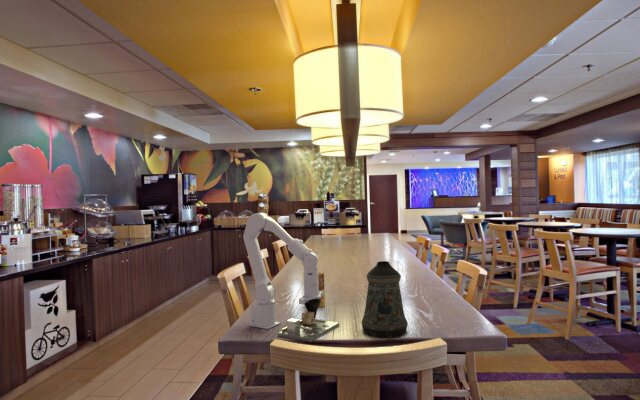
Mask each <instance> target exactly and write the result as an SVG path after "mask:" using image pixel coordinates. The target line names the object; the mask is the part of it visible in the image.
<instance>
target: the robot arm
mask: <svg viewBox="0 0 640 400" xmlns="http://www.w3.org/2000/svg"><path fill="white" fill-rule="evenodd" d="M262 230H263V231H266V232H272V233H273V234H274V235H275V236H277V237H278V238H279V239H280V240H281V241H282V242H284V243H285V244H286V245H287V250H288V251H289V252H290V253H291V254H292V255H293V256H294V257H295V258H297V260H299V261H301V264H302V266H303V295H302V296H301V297H300V298H298V305H303V306H304V307H305V309H306V311H309V312H314V319H317V313H318V309H319V307H318V306H319V304H320V302H321V300H320V299H317V298H321V297H322V296H324V291H319V281H318V272H319V267H318V263H319V256H318V254H317V253H316V252H315V251H313V249H312V248H308V246H306V244H304V241H303V240H302V239H299V238H293V237H292V236H291V235H290V234H289V233H288V232H287V231H286V230H285V229H284V228H283V227H282V226H281V225H280V224H279V223H278V222H277V221H276V220H275V219H274V218H272V217H271V216H269V214H267V213H265V212H262V211H261V212H256V213H253V214H251V215H250V216H249V218H248V219H247V221H246V225H245V229H244V233H243V236H242V238H243V241H244V245H245V248H246V251H247V256H248V260H249V263H250V267H251V270H252V274H253V277H254V289H255V294H254V299H255V301H254V302H252V303H251V306H250V312H249V313H250V324H249V327H255V328H259V329H265V330H269V329H272V328H273V327H276V326H278V325H280V324H281V322H280V321H277V320H276V300H275V298H274V296H275V295H276V288H275V286H274V285H273V283H272V281H271V278H270V277H269V276H268V273H267V270H266V266H265V261H264V258H263V255H262V252H261V248H260V244H259V239H258V237H259V235H260V234H261V232H262Z"/></svg>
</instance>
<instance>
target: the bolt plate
mask: <svg viewBox="0 0 640 400" xmlns="http://www.w3.org/2000/svg"><path fill="white" fill-rule="evenodd" d="M316 319H317V320H320V319H318V318H316ZM299 320H300V326H303V327H309V328H312V330H306V329H300V331H298V332H296V333H292V332H287V326H286V327H283V328H281V331H279V332H277V336H278V337H283V338H287V339H291V340H292V339H293V340H296V341H297V340H298V341H302V342H308V343H312V342H314V341H315V340H317V339H319V338H320V337H322V336H324V335H326V334H328V333H330V332H331V331H333V330H334V329H336V328H338V327H340V322H337V321H331V320H324V319H323V320H324V321H326V323H322V322H316V321H314V323H312V324H310V325H308V324H302V319H299Z"/></svg>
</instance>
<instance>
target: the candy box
mask: <svg viewBox="0 0 640 400" xmlns="http://www.w3.org/2000/svg"><path fill="white" fill-rule="evenodd" d="M318 281H319V291H324V296H322V297H321V298H317V299H320V300H321V302H320V304H319V306H318V308H321V307H326V294H325V293H326V292H325V291H326V290H325V273H324V271H318Z"/></svg>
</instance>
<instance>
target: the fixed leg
mask: <svg viewBox="0 0 640 400" xmlns="http://www.w3.org/2000/svg"><path fill="white" fill-rule="evenodd" d="M300 320H301V319H297V318H292V317H291V318H289V319H288V320H286V327H287V332H292V333H296V332H298V331H300V329H306V330H312V328H309V327H303V326H300Z"/></svg>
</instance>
